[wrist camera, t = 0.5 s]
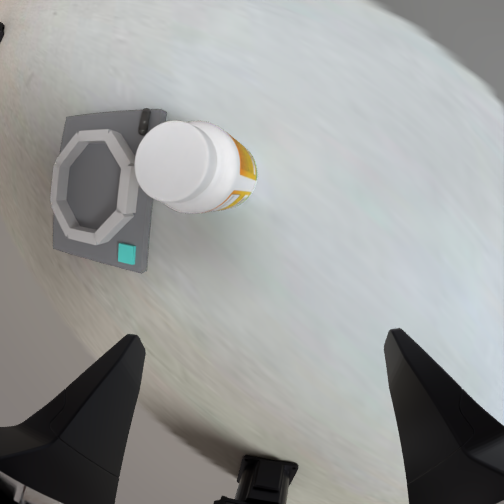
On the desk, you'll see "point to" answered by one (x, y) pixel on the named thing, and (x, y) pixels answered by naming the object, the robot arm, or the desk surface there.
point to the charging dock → (103, 188)
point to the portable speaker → (0, 32)
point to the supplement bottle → (194, 167)
